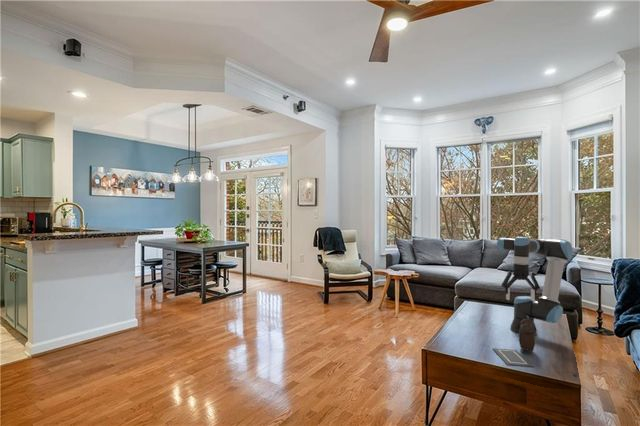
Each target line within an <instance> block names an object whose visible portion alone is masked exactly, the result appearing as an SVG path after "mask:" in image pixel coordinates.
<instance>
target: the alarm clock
mask: <svg viewBox="0 0 640 426" xmlns="http://www.w3.org/2000/svg"><path fill="white" fill-rule="evenodd" d="M518 339H519V340H518V341H519V342H518V344H519V346H520V349H521V350H522V353H523V354H525V351H528V352H529V351H530V354H533V351H534V348H535V345H536V335H535V332H534V327H533V324H532V321H531V320H529V316H526V319H523V320H522V321H521V325H520V330H519V333H518Z"/></svg>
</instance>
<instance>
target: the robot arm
mask: <svg viewBox="0 0 640 426" xmlns="http://www.w3.org/2000/svg"><path fill="white" fill-rule="evenodd" d="M496 247H497V248H498V249H499V250H502V251H511V252H512V251H513V262H514V263H513V271H510V270H508V271H507V275H506V276H505V278H504V280H503V281H502V282H501V285H500V286H501V287H502V288H504V294H505V299H506V300H507V301H510V299H511V298H510V296H511V295H510V293H511V288H510V287H511V286H513V284H514V283H515V282H516V281H517V280H518V281H519V280H520V281H521V280H523V281H526V282H527V284H528V285H529V286H530V287H531V289H530V296H528V295H526V296H525V295H523V296H522V295H520V296H519V295H518V296H516V297H514V301H513V319H512V322H511V323H510V330H511V331H512V332H514V333H517V334H519V330H520V325H521V321H522V320H523V319H526V316H529V320H531V321H532V324H533V327H534V332H535V336H536V335H537V334H538V329H537V326H536V323H535V320H539V321H542V322H546V323H550V324H557V323H559V322H560V320H561V319H562V317H563V315H564V308H563V306H561V302H560V301H559V295H560V290H561V284H562V283H561V282H562V277H563V274H564V273H563V271H564V266H565V264H566V263H568V260H571V259H572V257H573V255H574V251H573V246H572V243H571V242H570V241H569V240H565V239H564V240H563V239H553V238H551V239H550V238H530V237H525V236H515V237H514V238H509V237H499V238H498V239H497V241H496ZM530 254H534V255H538V256H542V257H545V258H546V260H547V265H546V271H545V275H544V276H545V277H544V283H543V288H542V294H541V295H540V296H539V297H538V299H535V296H537V291H538V290H541V287H540V284H539V282H538V281H537V279H536V277H535V272H532V271H530V272H529V269H530V267H529V266H530V265H529V264H530V263H529V262H530ZM529 277H530V278H531V280H530V278H529Z"/></svg>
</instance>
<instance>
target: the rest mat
mask: <svg viewBox="0 0 640 426" xmlns="http://www.w3.org/2000/svg"><path fill="white" fill-rule="evenodd" d="M492 351H493V352H494V353H495V354H496V355H498V357H499V358H500V359H501V360H502V361H503V363H505V365H507V366H514V367H528V368H534V367H535V366H534V364H532V362H530V360H528V359H527V358H526V357H525V356H524V355H523V354H522V353H521V352H519V350H517V349H507V348H492Z"/></svg>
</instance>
